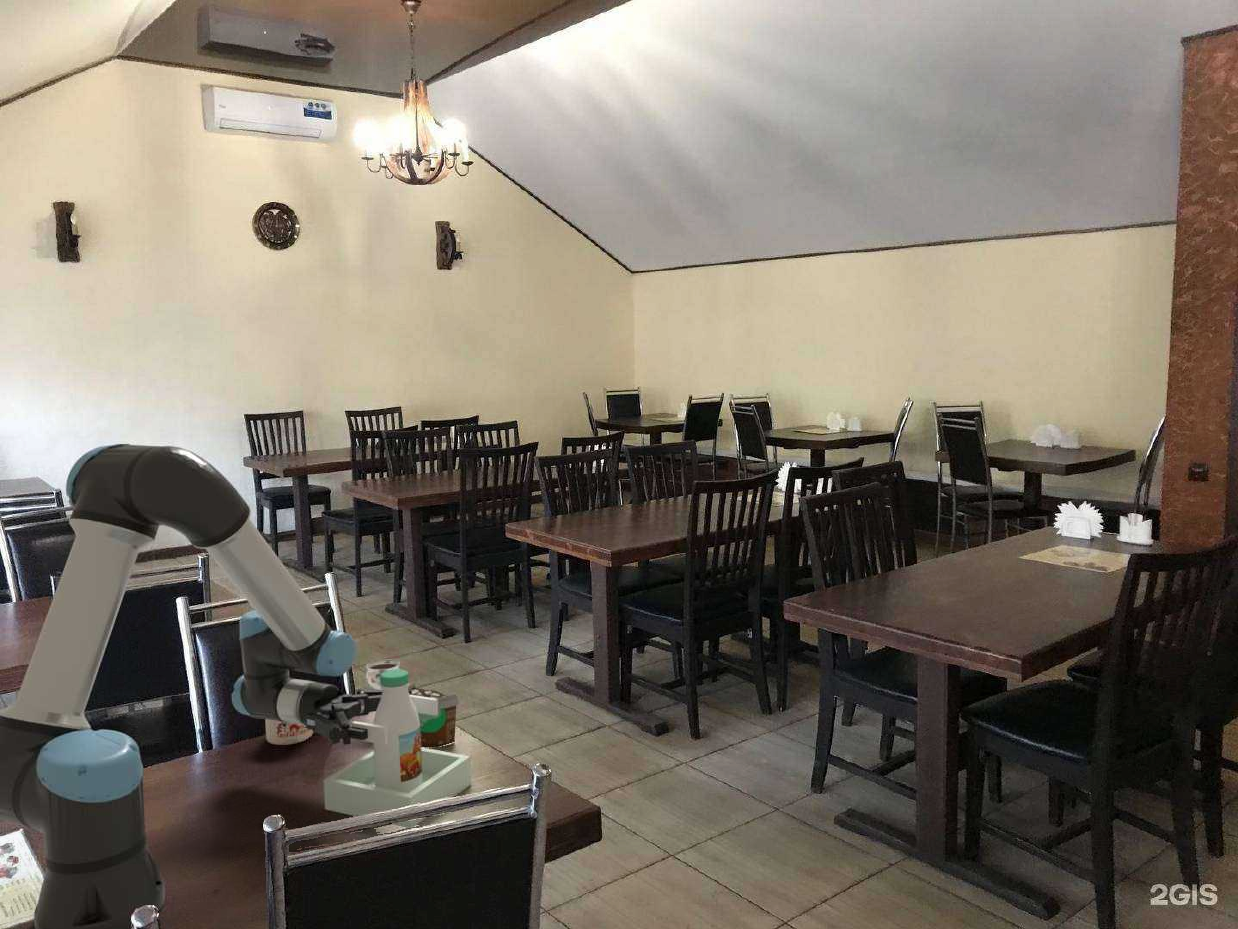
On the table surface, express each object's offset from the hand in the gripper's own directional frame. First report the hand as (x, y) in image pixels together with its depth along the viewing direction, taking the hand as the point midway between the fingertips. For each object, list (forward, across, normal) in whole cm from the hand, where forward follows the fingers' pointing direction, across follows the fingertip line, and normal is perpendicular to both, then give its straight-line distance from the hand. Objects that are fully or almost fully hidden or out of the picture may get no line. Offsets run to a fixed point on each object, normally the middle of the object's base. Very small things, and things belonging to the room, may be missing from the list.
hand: (412, 721), depth 157 cm
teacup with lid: (-39, -14, -14) cm, 44 cm away
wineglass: (-27, -26, -14) cm, 40 cm away
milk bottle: (-3, 0, -12) cm, 13 cm away
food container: (-13, -20, -14) cm, 28 cm away
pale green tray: (-3, 0, -14) cm, 14 cm away
